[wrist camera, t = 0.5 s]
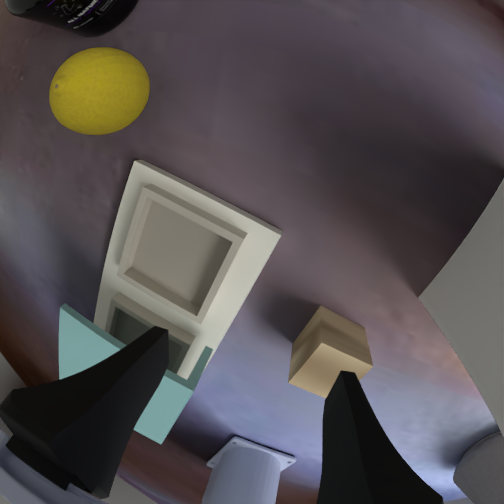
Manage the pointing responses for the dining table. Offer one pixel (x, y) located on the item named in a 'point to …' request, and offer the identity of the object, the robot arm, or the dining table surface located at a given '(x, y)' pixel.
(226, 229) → the board
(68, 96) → the lemon
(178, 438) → the dining table surface
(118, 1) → the supplement bottle
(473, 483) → the coffee pot
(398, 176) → the dining table surface
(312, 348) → the block
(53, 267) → the dining table surface
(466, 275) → the milk
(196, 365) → the cover
